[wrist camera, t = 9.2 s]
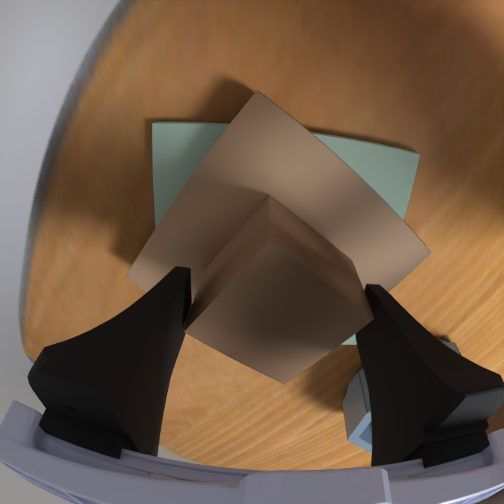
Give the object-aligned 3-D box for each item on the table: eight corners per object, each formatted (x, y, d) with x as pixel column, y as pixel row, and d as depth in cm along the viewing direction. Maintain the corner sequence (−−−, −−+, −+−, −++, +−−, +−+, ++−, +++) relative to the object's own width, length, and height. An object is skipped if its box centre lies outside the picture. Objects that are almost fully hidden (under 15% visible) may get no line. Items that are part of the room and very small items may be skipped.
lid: (423, 242, 14) (467, 303, 10) (285, 359, 19) (287, 426, 15) (257, 90, 11) (251, 93, 7) (131, 266, 16) (93, 330, 12)
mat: (414, 151, 13) (420, 154, 12) (356, 338, 19) (358, 345, 18) (156, 121, 13) (152, 123, 12) (168, 322, 19) (166, 329, 18)
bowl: (478, 336, 19) (498, 373, 15) (425, 407, 24) (435, 441, 20) (370, 338, 19) (384, 387, 15) (331, 414, 24) (335, 454, 21)
